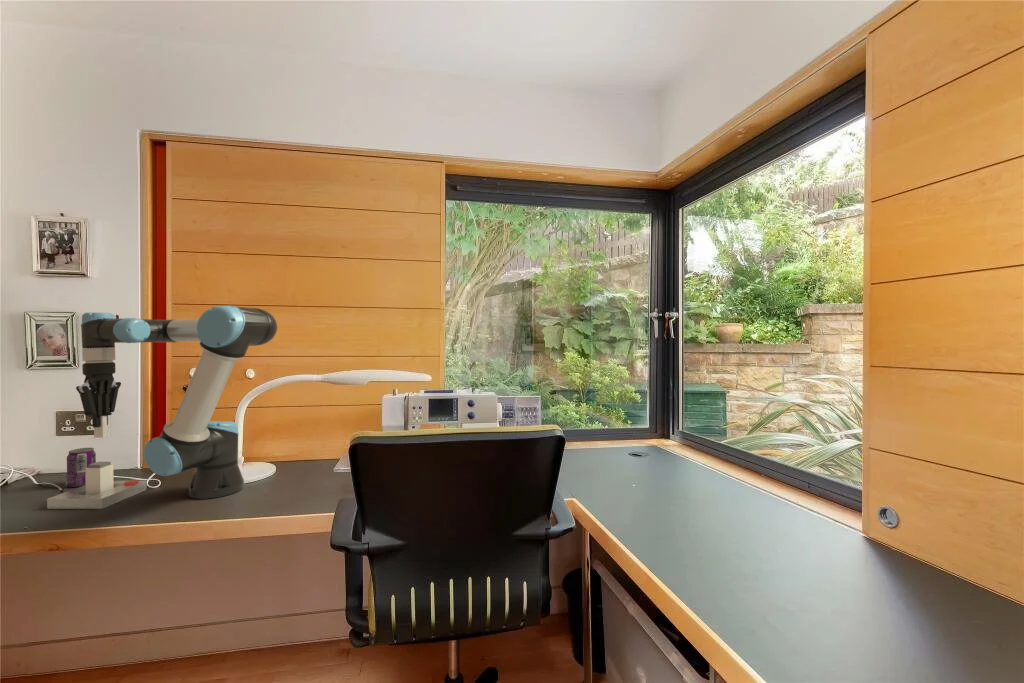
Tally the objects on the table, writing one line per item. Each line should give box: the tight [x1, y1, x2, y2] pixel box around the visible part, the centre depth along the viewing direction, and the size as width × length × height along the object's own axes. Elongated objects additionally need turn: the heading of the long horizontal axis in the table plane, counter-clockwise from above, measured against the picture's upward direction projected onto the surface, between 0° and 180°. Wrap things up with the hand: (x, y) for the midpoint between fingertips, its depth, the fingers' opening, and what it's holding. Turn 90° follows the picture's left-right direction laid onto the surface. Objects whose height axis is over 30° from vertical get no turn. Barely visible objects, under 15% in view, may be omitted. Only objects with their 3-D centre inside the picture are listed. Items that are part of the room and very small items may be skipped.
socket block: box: [46, 479, 147, 510], centre depth 137 cm, size 16×16×4 cm
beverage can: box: [66, 447, 97, 488], centre depth 150 cm, size 7×7×12 cm
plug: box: [86, 461, 114, 495], centre depth 137 cm, size 4×4×11 cm
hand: (100, 436), depth 137 cm, fingers closed
